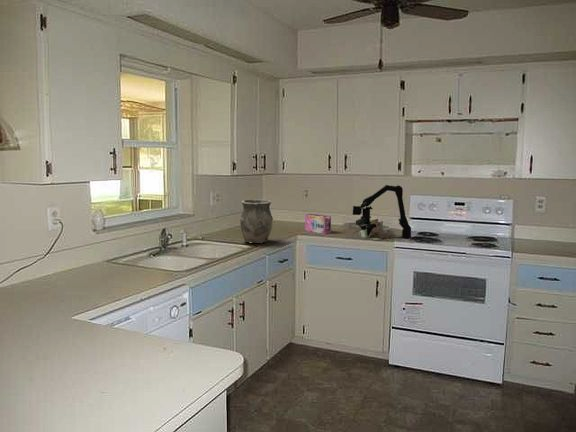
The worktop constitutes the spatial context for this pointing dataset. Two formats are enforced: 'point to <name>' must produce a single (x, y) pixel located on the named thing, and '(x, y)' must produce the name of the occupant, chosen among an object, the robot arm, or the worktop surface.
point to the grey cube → (387, 230)
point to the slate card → (375, 239)
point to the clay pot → (256, 220)
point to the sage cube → (364, 233)
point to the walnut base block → (381, 234)
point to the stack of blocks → (378, 225)
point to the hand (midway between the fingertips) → (365, 235)
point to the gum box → (318, 223)
